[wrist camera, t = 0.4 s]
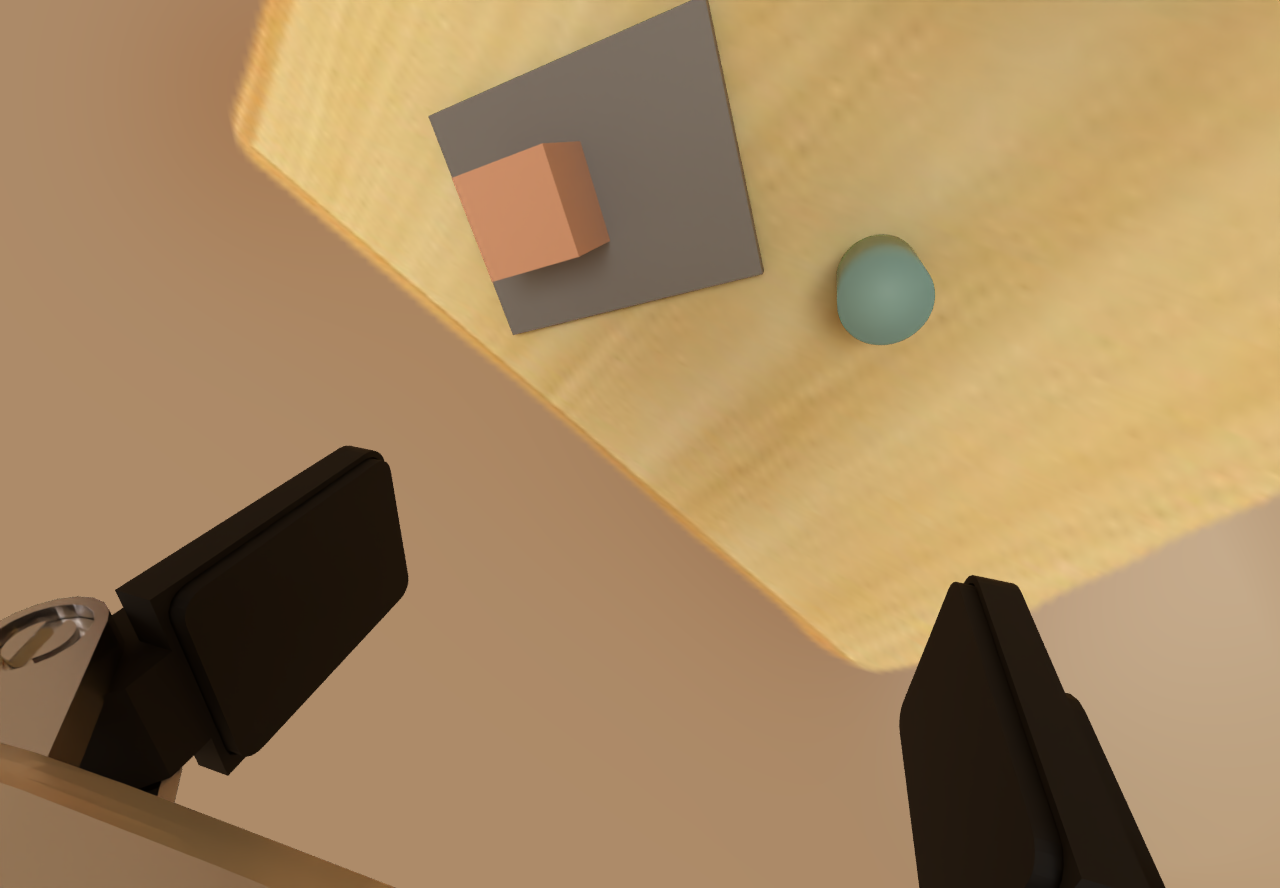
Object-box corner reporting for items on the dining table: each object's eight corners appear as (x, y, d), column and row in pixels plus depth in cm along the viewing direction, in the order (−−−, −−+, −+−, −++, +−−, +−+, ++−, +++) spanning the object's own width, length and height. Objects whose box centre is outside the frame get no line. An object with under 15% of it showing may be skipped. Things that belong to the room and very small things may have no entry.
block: (498, 171, 41) (451, 177, 36) (580, 141, 39) (542, 143, 34) (531, 263, 44) (492, 281, 39) (610, 240, 41) (579, 256, 36)
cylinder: (830, 246, 38) (830, 267, 32) (914, 225, 36) (930, 244, 31) (842, 319, 40) (844, 352, 34) (922, 303, 38) (939, 335, 32)
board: (436, 116, 42) (428, 116, 41) (707, -3, 34) (704, -6, 33) (518, 331, 48) (513, 335, 47) (763, 270, 40) (762, 273, 39)
